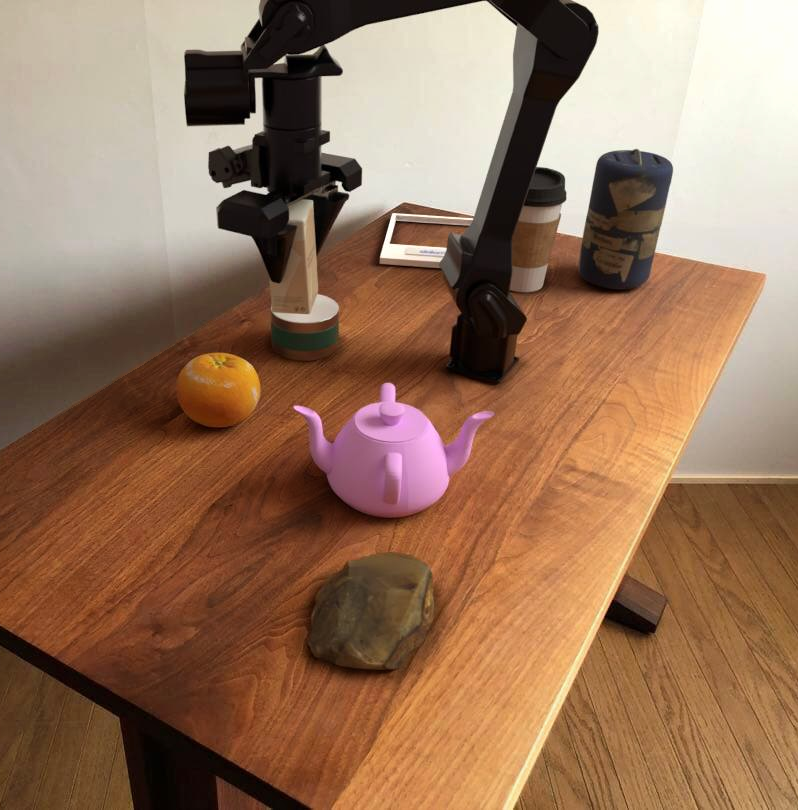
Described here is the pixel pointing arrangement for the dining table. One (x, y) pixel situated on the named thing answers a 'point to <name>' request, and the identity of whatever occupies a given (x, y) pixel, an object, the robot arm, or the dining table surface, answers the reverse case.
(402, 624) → the decorative stone
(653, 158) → the canister
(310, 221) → the box
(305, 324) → the tin can
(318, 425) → the teapot
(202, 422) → the fruit
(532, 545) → the dining table surface
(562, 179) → the coffee cup
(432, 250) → the photo frame
